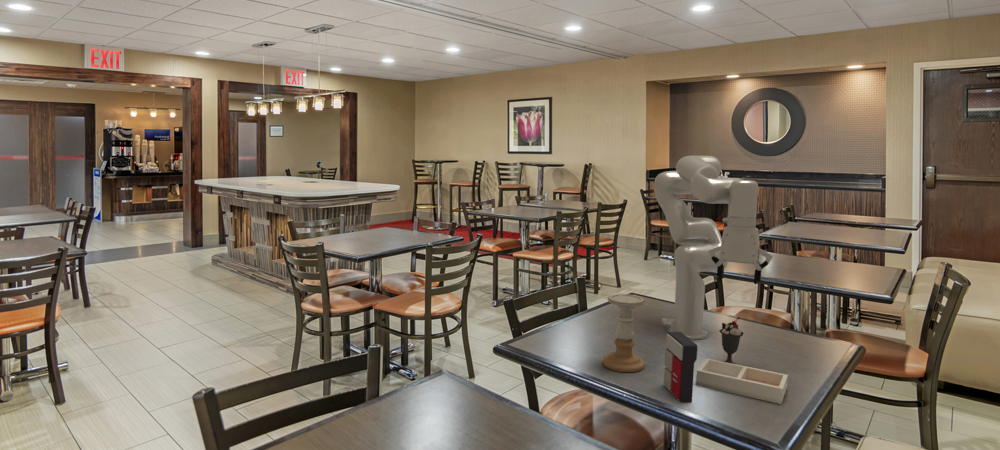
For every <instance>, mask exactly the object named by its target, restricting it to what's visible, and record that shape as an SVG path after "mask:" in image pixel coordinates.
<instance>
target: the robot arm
mask: <svg viewBox="0 0 1000 450" xmlns="http://www.w3.org/2000/svg"><path fill="white" fill-rule="evenodd" d="M721 172H722V164H721V162H720V160H719V159H718V158H717V157H716V156H713V155H687V156H683V157H681V158H680V159H679V160H678V161H677V163H676V164H675V170H669V171H668V170H666V171H663V172H661V173H659V174H657V176H655V180H654V185H653V187H654V188H653V189H654V190H653V191H654V196H655V199H656V201H657V203H658V205H659V206H660V208H661V209H662V212H663V214H664V216H665V220H666V223H667V226H668V229H669V232H670V236H671V238H672V240H673V242H674V243H676V244H677V245H679V246H678V247H677V248H676V249H675V250H674V255H673V257H674V267H675V293H674V314H673V318H671V319H670V318H666V317H662V319H661V324H663V325H664V326H669V328H668V332H682V333H683V334H684V335H685V336H687V337H688V338H689V339H690V340H692V341H693V340H702V339H706V338H707V336H708V332H707V331H706V330H705V329H704V328H703V326H704V325H703V324H704V312H705V311H704V308H705V297H706V296H705V295H706V293H705V292H706V285H705V281H704V279H702V277H701V275H700V273H702V272H716V276H717V277H718V280H719V281H722V280H723V279H724V274H725V269H726V268H727V266H728V264H729V263H739V264H749V265H750V264H751V265H753V266H754V268H755V270H754V274H753V275H754V278H753V284H754V285H757V284H758V283H759V282H760V281H761V279H762V270H763V269H764V268H765V267H767V266H768V265H769V263H771V261H772V259H773V255H772V254H770V253H769V252H768V251H766V250H764V249H762V248H760V234H759V228H757V226H756V225H757V212H758V211H757V210H758V209H757V207H758V193H759V192H758V191H759V184H758V182H757V181H755V180H751V179H742V178H727V177H726V178H722V177H721V178H719V177H720V175H721ZM678 195H693V197H695V199H698V200H699V201H700V202H703V203H705V204H709V205H710V204H713V205H715V204H719V205H720V204H726V205H728V209H727V217H722V223H723V224H724V223H725V224H726V225H727V226H724V228H723V231H722V235H721V232H720V230H719V227H718V225H717V222H715V221H714V220H713V219H711V218H708V217H695V216H693V215H692V214H691V212H690V208H689V206H688V205H687V204H686V202H685V201H684V200H683V199H682V198H680V197H679V196H678ZM760 255H761V256H762V257H764V258H765V260H764V261H763V262H762V263H761V262H760V261H759V260H760Z"/></svg>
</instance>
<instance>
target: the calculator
mask: <svg viewBox="0 0 1000 450" xmlns="http://www.w3.org/2000/svg"><path fill="white" fill-rule="evenodd" d="M665 343H666V345H665V347H666V348H665V349H664V350H665V351H664V366H665V367H664V371H663V372H664V373H663V385H664V386H665V387H666V388H667V389H668V390H669V391H670V393H671V394H672V395H673V396H674V397H675V399H677V400H678V401H679V402H680V403H692V401H693V391H694V390H693V389H694V375H695V373H694V372H695V363H696V362H697V359H698V348H699V347H698V344H697V343H695V342H694V341H693V340H691V339H689V338H688V337H687V336H685V335H684V334H683V333H682V332H669V331H668V332H667V333H666V342H665Z"/></svg>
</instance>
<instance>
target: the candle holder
mask: <svg viewBox="0 0 1000 450" xmlns="http://www.w3.org/2000/svg"><path fill="white" fill-rule="evenodd" d="M607 301H608V303H610V304H612V305H615V306H616V307H617V309H619V313H618V314H617V315H616V319H617V320H618V322H617V323H618V324H617V327H616V330H615V337H616V339H615V340H614V341H613V344H615V346H616V348H615V351H613V352H610V353H608V354H607V355H605V356H603V358H602V359H601V361H602V365H603V366H604V367H605V368H607V369H609V370H611V371H615V372H620V373H636V372H641V371H642V370H644V368H645V367H646V363H645V361H644V359H642V358H641V357H640V356H638V355H637V354H635V353H634V352H633V347H634V346H635V341H634V340H633V339H634V337H635V331H634V327H633V321H634V320H635V316H634V315H633V314H632V313H633V310H634V309H635V307H640V306H642V305H644V304H645V301H646V300H645V298H644V297H641V296H639V295H635V294H627V293H626V294H625V293H621V294H620V293H618V294H616V293H615V294H612V295H609V296H608V297H607Z"/></svg>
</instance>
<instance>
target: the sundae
mask: <svg viewBox="0 0 1000 450" xmlns="http://www.w3.org/2000/svg"><path fill="white" fill-rule="evenodd" d="M740 319H741V318H740V317H738V316H737V318H736V319H735V320H732V321H731V322H728V323H726V322H725V323H724V322H722V323H721V328H720V329H719V330H718V331H719V333H720V334H721V345H722V349H723V351H724V352H725V353H726V354H727V357H726V360H723V361H722V362H727V363H732V364H737V363H736V362H733V360H732V355H733V354H735V353H736V352H737V351H738V348H739V345H740V340H741V337H743V336H744V332H743V331H741V329H740V328H739V325H738V322H737V321H738V320H740Z"/></svg>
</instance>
